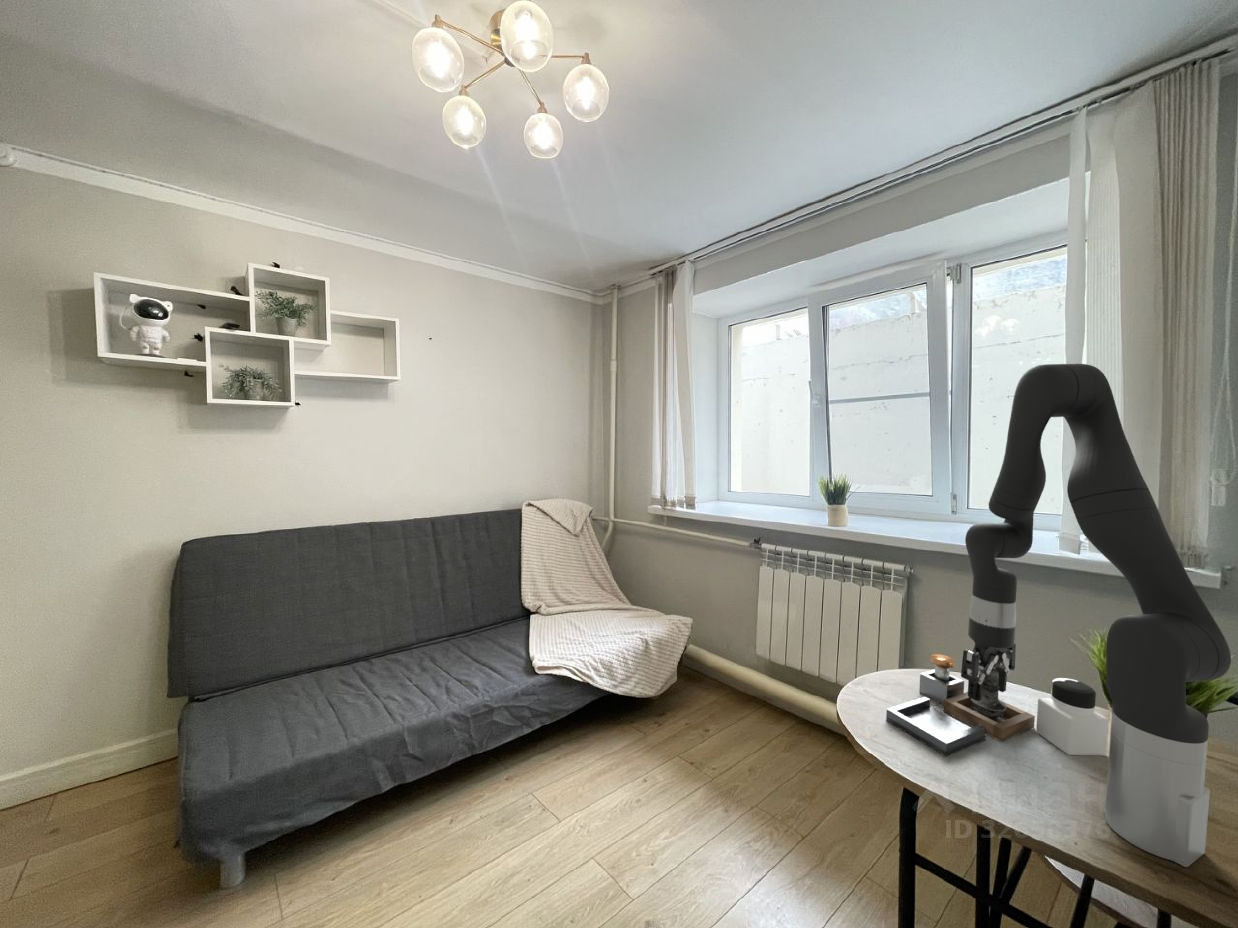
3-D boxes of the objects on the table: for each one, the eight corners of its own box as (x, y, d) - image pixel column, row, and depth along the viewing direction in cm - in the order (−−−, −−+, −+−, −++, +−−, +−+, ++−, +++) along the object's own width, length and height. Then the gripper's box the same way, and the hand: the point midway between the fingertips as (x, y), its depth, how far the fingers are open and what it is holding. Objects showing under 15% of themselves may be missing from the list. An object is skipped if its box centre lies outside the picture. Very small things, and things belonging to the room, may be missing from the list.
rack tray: (985, 740, 92) (986, 727, 92) (945, 756, 87) (946, 743, 87) (924, 707, 103) (924, 696, 103) (886, 720, 98) (886, 708, 98)
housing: (963, 699, 106) (964, 680, 106) (946, 705, 103) (947, 686, 103) (936, 686, 111) (937, 668, 111) (919, 692, 109) (920, 673, 109)
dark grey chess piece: (968, 708, 103) (971, 654, 102) (1002, 716, 100) (1005, 661, 99) (971, 722, 98) (974, 665, 97) (1008, 731, 95) (1011, 673, 94)
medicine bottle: (1107, 756, 87) (1111, 693, 87) (1068, 755, 88) (1072, 693, 87) (1071, 732, 95) (1075, 674, 94) (1035, 731, 95) (1038, 673, 94)
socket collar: (1034, 727, 96) (1034, 715, 96) (1001, 741, 92) (1002, 729, 91) (975, 699, 106) (975, 689, 106) (943, 711, 102) (944, 699, 101)
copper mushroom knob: (957, 691, 106) (959, 661, 106) (945, 695, 104) (946, 664, 104) (937, 681, 110) (939, 652, 110) (925, 685, 108) (926, 656, 108)
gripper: (991, 631, 91) (986, 712, 92) (1033, 620, 97) (1027, 696, 98) (951, 617, 98) (946, 692, 99) (992, 607, 104) (987, 678, 105)
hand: (986, 694), depth 99 cm, fingers open, 8 cm apart
